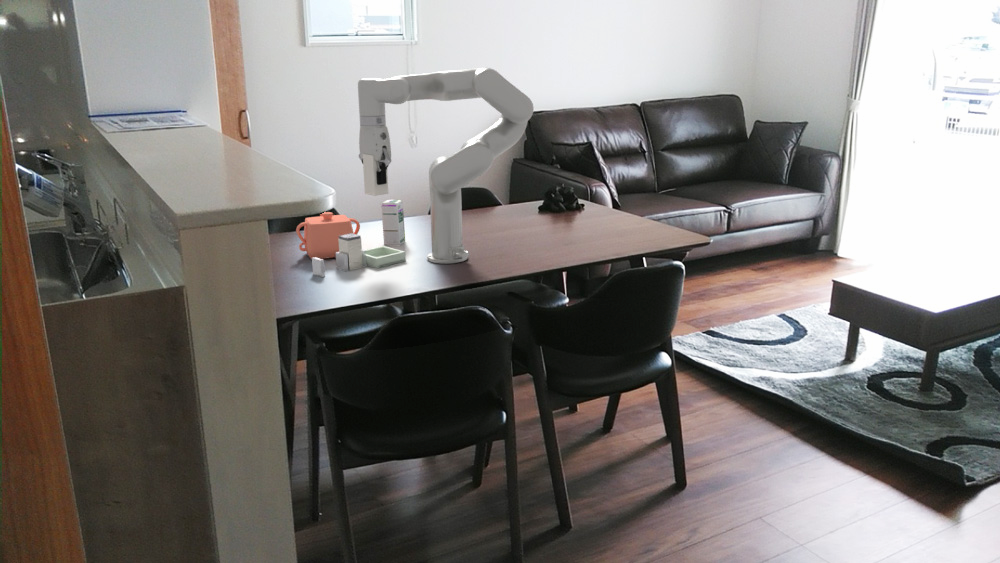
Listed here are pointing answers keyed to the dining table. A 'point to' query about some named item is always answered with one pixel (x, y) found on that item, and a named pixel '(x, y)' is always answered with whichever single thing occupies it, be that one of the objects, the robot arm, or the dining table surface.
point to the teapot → (324, 234)
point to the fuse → (372, 177)
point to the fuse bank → (344, 255)
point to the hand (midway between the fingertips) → (376, 182)
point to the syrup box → (393, 222)
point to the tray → (384, 256)
